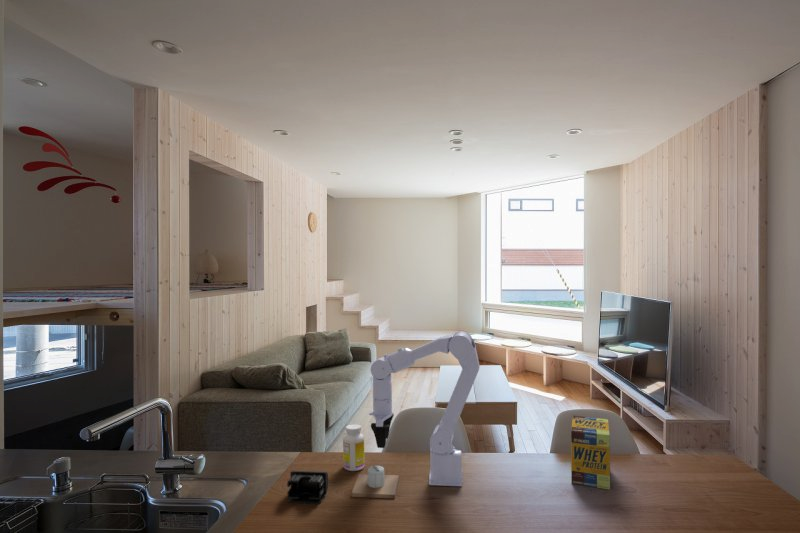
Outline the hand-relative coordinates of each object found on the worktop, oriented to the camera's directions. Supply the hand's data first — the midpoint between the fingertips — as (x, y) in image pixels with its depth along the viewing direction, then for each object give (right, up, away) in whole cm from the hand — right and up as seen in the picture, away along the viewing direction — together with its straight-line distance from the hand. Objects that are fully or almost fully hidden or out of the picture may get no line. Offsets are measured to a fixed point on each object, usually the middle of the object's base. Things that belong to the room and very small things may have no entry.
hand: (382, 442), depth 144 cm
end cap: (-20, -11, -13) cm, 26 cm away
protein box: (+62, -10, -2) cm, 63 cm away
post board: (-2, -10, -8) cm, 13 cm away
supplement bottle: (-9, -10, +6) cm, 15 cm away
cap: (-2, -9, -8) cm, 12 cm away
